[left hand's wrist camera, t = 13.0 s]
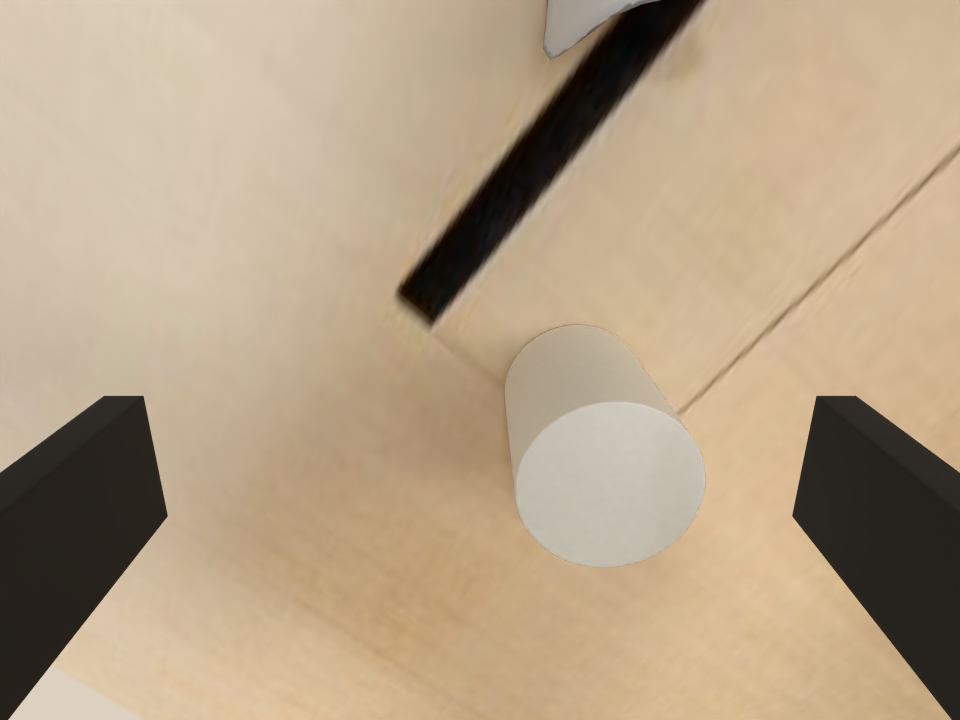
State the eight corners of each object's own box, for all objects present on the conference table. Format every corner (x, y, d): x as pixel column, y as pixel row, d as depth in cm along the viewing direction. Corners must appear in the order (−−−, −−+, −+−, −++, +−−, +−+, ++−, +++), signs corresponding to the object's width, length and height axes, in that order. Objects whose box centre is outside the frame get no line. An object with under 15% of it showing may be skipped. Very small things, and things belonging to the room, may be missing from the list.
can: (595, 474, 35) (636, 595, 26) (479, 415, 34) (480, 520, 25) (671, 365, 33) (745, 456, 24) (551, 298, 32) (580, 367, 23)
